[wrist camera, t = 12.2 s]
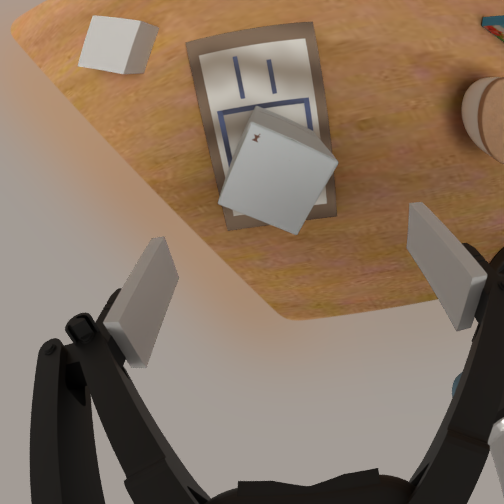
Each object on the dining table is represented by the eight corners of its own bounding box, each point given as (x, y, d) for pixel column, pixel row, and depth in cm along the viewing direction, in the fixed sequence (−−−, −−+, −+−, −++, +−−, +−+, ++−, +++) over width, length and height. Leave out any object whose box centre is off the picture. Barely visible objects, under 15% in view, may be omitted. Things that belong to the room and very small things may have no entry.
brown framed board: (335, 213, 40) (337, 217, 38) (228, 227, 41) (227, 231, 40) (311, 23, 27) (312, 21, 26) (187, 43, 29) (184, 42, 28)
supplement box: (229, 161, 35) (212, 204, 25) (255, 103, 32) (250, 117, 21) (287, 186, 37) (296, 238, 26) (316, 131, 33) (341, 160, 22)
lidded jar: (511, 132, 31) (552, 152, 23) (462, 159, 34) (501, 184, 26) (490, 63, 26) (535, 70, 18) (436, 86, 30) (479, 94, 22)
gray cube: (116, 21, 27) (93, 15, 22) (159, 27, 28) (141, 20, 23) (102, 65, 30) (77, 66, 25) (144, 73, 31) (123, 74, 26)
